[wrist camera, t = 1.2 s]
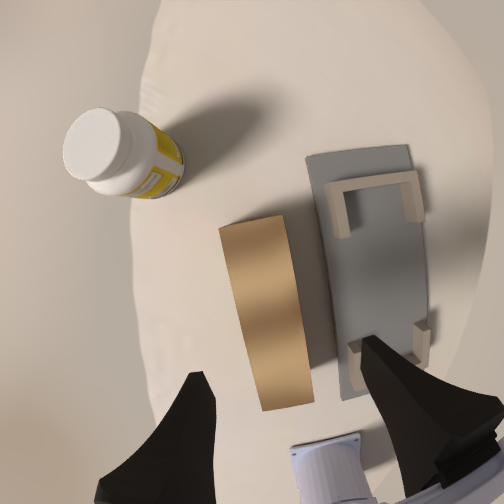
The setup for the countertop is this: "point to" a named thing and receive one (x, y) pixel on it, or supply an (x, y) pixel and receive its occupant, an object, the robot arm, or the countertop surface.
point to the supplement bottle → (122, 155)
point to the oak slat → (269, 310)
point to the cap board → (372, 254)
